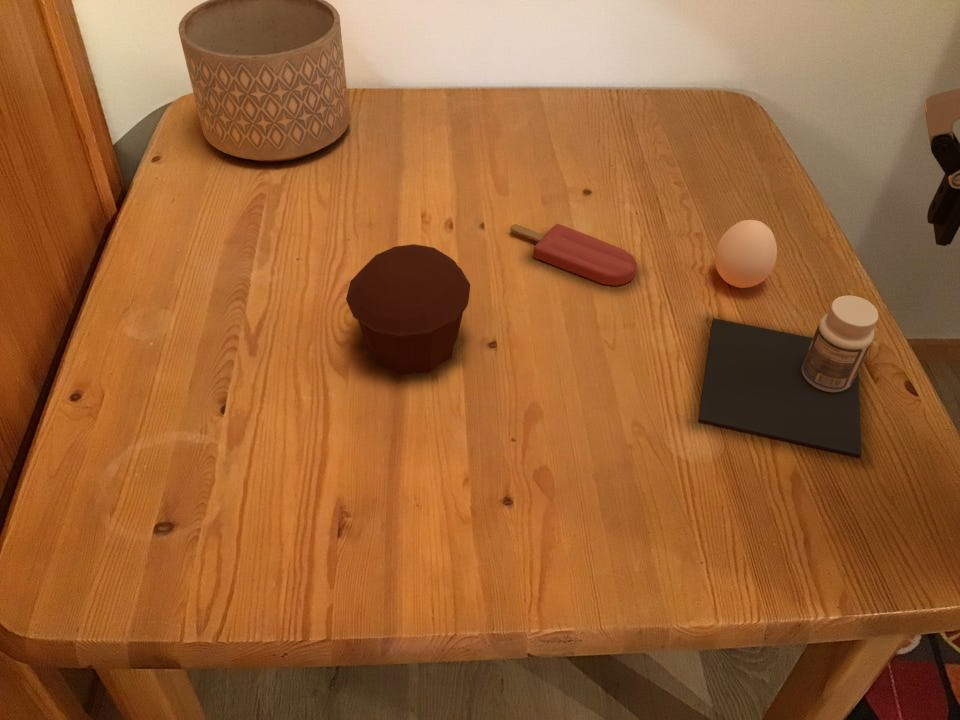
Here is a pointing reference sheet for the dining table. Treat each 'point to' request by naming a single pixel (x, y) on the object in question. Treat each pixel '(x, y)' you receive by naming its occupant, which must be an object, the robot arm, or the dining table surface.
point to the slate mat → (774, 391)
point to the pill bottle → (840, 344)
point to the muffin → (409, 307)
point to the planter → (267, 76)
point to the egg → (746, 254)
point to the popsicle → (581, 254)
